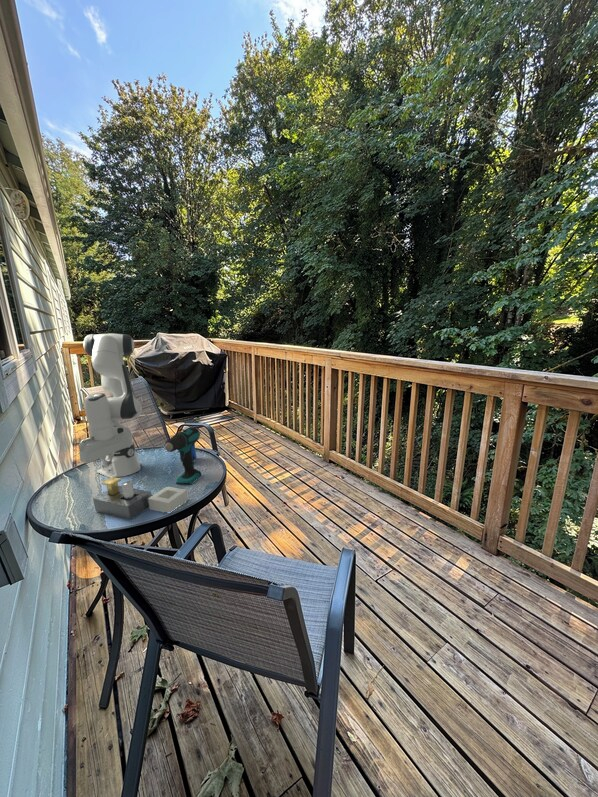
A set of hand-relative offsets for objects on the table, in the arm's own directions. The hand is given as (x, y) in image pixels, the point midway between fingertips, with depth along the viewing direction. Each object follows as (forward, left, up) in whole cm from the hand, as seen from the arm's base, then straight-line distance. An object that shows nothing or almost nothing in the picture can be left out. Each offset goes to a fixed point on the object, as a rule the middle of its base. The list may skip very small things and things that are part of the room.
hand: (108, 464), depth 145 cm
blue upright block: (-1, +48, -19) cm, 52 cm away
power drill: (+14, +28, -19) cm, 37 cm away
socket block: (+5, 0, -19) cm, 20 cm away
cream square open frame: (+22, +8, -19) cm, 30 cm away
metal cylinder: (+9, 0, -19) cm, 21 cm away
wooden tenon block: (0, 0, -15) cm, 15 cm away
